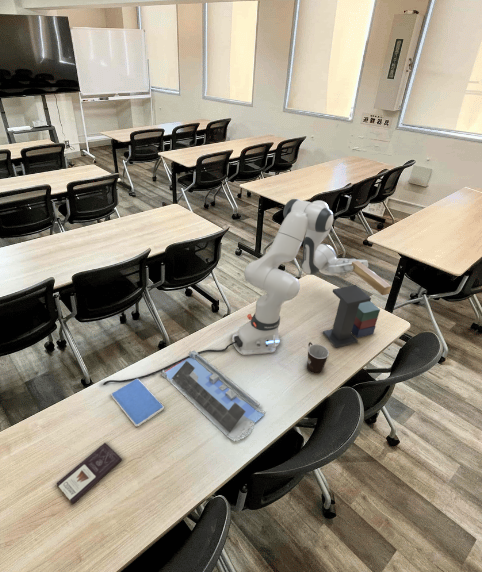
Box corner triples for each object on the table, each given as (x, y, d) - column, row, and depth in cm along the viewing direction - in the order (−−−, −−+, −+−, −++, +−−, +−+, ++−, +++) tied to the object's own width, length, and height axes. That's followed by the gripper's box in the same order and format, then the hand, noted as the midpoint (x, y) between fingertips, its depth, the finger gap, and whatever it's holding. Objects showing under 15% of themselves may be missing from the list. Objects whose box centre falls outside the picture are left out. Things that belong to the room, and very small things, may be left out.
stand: (335, 348, 166) (347, 303, 151) (322, 333, 174) (332, 289, 160) (357, 343, 169) (371, 298, 155) (343, 328, 178) (355, 284, 163)
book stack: (356, 338, 172) (364, 313, 164) (338, 319, 184) (344, 295, 175) (373, 334, 175) (381, 309, 166) (354, 315, 186) (361, 292, 178)
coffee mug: (325, 377, 151) (329, 360, 146) (304, 373, 153) (307, 356, 147) (324, 357, 161) (328, 341, 155) (304, 354, 162) (308, 338, 156)
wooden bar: (382, 295, 155) (384, 287, 152) (350, 268, 173) (352, 261, 170) (389, 293, 156) (391, 286, 153) (356, 267, 174) (358, 260, 171)
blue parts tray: (194, 354, 161) (193, 344, 158) (270, 416, 134) (272, 407, 131) (160, 374, 151) (159, 365, 147) (236, 447, 124) (237, 437, 121)
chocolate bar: (121, 458, 119) (72, 502, 107) (121, 460, 119) (73, 504, 107) (105, 442, 123) (56, 483, 112) (105, 444, 124) (57, 484, 112)
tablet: (165, 408, 136) (165, 406, 136) (136, 428, 129) (136, 426, 129) (138, 379, 148) (137, 377, 147) (110, 396, 141) (109, 393, 140)
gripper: (322, 263, 180) (338, 263, 166) (356, 257, 185) (375, 257, 172) (323, 276, 180) (340, 276, 167) (357, 270, 186) (376, 270, 173)
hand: (358, 266), depth 170 cm, fingers closed on wooden bar, 3 cm apart
